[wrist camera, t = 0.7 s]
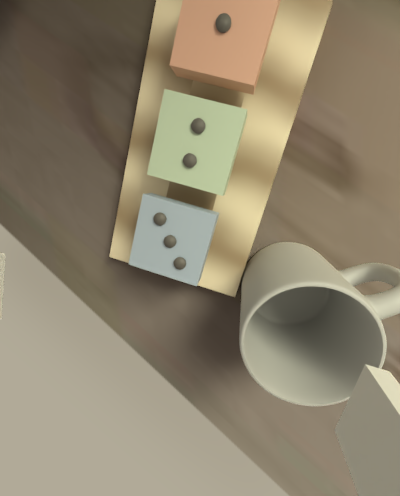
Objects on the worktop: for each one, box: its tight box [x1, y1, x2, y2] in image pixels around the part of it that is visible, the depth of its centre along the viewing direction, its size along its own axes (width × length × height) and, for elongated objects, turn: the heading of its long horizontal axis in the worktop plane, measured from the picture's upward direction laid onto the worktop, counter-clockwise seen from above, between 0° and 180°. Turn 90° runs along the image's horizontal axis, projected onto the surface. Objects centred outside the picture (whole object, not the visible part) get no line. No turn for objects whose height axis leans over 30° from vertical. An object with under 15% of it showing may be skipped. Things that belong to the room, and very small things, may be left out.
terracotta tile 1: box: [169, 0, 281, 95], centre depth 19 cm, size 6×6×4 cm
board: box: [109, 0, 333, 297], centre depth 24 cm, size 24×13×2 cm, turn 165°
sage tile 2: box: [147, 89, 247, 196], centre depth 21 cm, size 6×6×4 cm
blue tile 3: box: [129, 193, 219, 286], centre depth 23 cm, size 6×6×4 cm
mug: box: [239, 242, 400, 406], centre depth 21 cm, size 12×8×11 cm
